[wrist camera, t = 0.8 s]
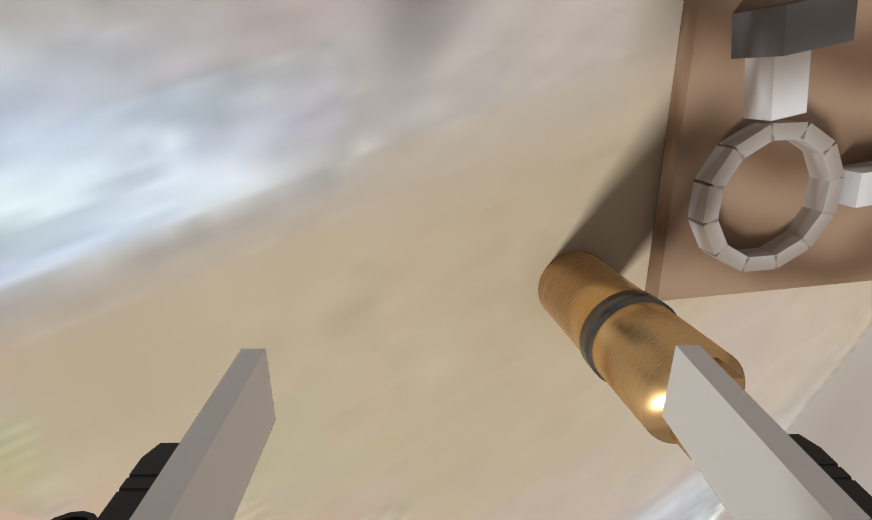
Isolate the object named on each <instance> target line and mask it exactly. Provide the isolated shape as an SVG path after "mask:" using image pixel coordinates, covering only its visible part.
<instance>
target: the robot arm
mask: <svg viewBox="0 0 872 520" xmlns="http://www.w3.org/2000/svg"><path fill="white" fill-rule="evenodd" d="M662 417H663V418H664V420H665V421H666V423H667V424H668V425H669V427H670V428H671V430H672V431H673V433H674V434H675V436H676V437H677V439H678V440H679V442H680V443H681V445H682V446H683V447H684V449H685V450H686V452H687V453H688V455H689V456H690V458H691V459H692V461H693V462H694V464H695V465H696V467H697V468H698V470H699V471H700V472H701V474H702V475H703V477H704V478H705V480H706V481H707V483H708V484H709V486H710V487H711V489H712V490H713V492H714V493H715V495H716V496H717V497H718V499H719V500H720V502H721V503H722V505H723V506H724V508H725V509H726V511H727V512H728V514H729V515H730V516H731V518H732V519H733V520H872V496H871V495H870V494H868V493H867V492H866V491H865V490H864V489H863V488H862V487H861V486H860V485H859V484H858V483H857V482H856V481H855V480H852V479H851V476H850V475H849V474H848V473H846V471H845V470H844V469H842V468H841V467H838V464H837V463H836V462H835V461H834V460H833V459H832V458H831V457H830V456H829V455H828V454H827V453H826V452H825V451H824V450H823V449H822V448H820V447H819V446H817V445H816V444H814V443H812V442H811V441H809V440H807V439H806V438H804V437H802V436H801V435H799V434H787V433H786V432H785V431H784V430H783V429H782V428H781V427H780V426H779V425H778V424H777V423H776V422H775V421H774V420H773V419H772V418H771V417H770V416H769V415H768V414H767V413H766V412H765V411H764V410H763V409H762V408H761V407H760V406H759V405H758V404H757V403H756V402H755V401H754V400H753V399H752V398H751V397H750V396H749V395H748V394H747V393H746V392H745V391H744V390H743V389H742V388H741V387H740V386H739V385H738V384H737V382H736V381H735V380H734V379H733V378H732V377H731V376H730V375H729V374H728V373H727V372H726V371H725V370H724V369H723V368H722V367H721V366H720V365H719V364H718V363H717V362H716V361H715V360H714V359H713V358H712V357H711V356H710V355H709V354H708V353H707V352H706V351H705V350H704V349H703V348H702V347H701V346H700V345H676V347H675V352H674V357H673V362H672V367H671V372H670V377H669V382H668V387H667V392H666V396H665V401H664V406H663V411H662ZM275 420H276V418H275V411H274V404H273V397H272V390H271V383H270V376H269V368H268V361H267V354H266V349H241V350H240V352H239V353H238V355H237V356H236V358H235V359H234V361H233V363H232V364H231V366H230V367H229V369H228V370H227V372H226V373H225V375H224V376H223V378H222V379H221V381H220V382H219V384H218V385H217V387H216V388H215V390H214V391H213V393H212V395H211V396H210V398H209V399H208V401H207V402H206V404H205V405H204V407H203V408H202V410H201V411H200V413H199V414H198V416H197V417H196V419H195V420H194V422H193V423H192V425H191V426H190V428H189V430H188V431H187V433H186V434H185V436H184V437H183V439H182V440H181V442H180V443H160V444H159V445H157V446H156V447H155V448H154V449H152V450H151V451H150V452H148V453H147V454H146V455H145V456H143V457H142V458H141V459H140V461H139V462H138V464H137V465H136V466H135V468H134V469H133V470H132V472H131V473H130V476H129V478H127V479H126V480H125V481H124V483H123V484H122V485H121V487H120V488H119V492H116V494H115V495H114V496H113V498H112V499H111V501H110V502H109V503H108V505H107V506H106V507H105V509H104V510H103V512H102V513H101V514H100V516H99V517H98V518H97V517H96V515H95V514H93V513H90V512H86V511H79V512H70V513H67V514H64V515H61V516H58V517H55V518H53V519H51V520H233V519H234V516H235V514H236V512H237V509H238V507H239V505H240V502H241V500H242V498H243V495H244V493H245V491H246V488H247V486H248V484H249V481H250V479H251V476H252V474H253V472H254V469H255V467H256V465H257V462H258V460H259V458H260V455H261V453H262V451H263V448H264V446H265V444H266V441H267V439H268V437H269V434H270V432H271V430H272V427H273V425H274V423H275Z"/></svg>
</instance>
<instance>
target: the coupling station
mask: <svg viewBox="0 0 872 520" xmlns="http://www.w3.org/2000/svg"><path fill="white" fill-rule="evenodd" d="M870 280H872V0H684V5H683V13H682V20H681V28H680V35H679V43H678V50H677V58H676V65H675V73H674V80H673V88H672V95H671V103H670V111H669V118H668V126H667V133H666V141H665V148H664V156H663V163H662V171H661V178H660V186H659V193H658V201H657V208H656V216H655V223H654V231H653V238H652V246H651V253H650V261H649V268H648V276H647V283H646V291H645V292H648V293H650V294H652V295H654V296H655V297H657V298H658V299H660V300H661V301H663V300H673V299H684V298H694V297H704V296H715V295H725V294H735V293H746V292H756V291H766V290H777V289H787V288H797V287H808V286H818V285H829V284H839V283H849V282H860V281H870Z"/></svg>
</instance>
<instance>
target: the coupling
mask: <svg viewBox="0 0 872 520" xmlns="http://www.w3.org/2000/svg"><path fill="white" fill-rule="evenodd" d="M538 294H539V299H540V302H541V304H542V306H543V307H544V309H545V310H546V311H547V312H548V313H549V314H550V316H551V317H552V318H553V319H554V320H555V322H556V323H557V324H558V325H559V326H560V327H561V329H562V330H563V331H564V332H565V333H566V335H567V336H568V337H569V338H570V339H571V340H572V342H573V343H574V344H575V345H576V346H577V348H578V349H579V350H580V351H581V354H582V356H583V358H584V359H585V361H586V362H587V364H588V365H589V366H590V367H591V368H592V370H593V371H594V372H595V373H596V374H597V375H598V376H599V377H600V378H601V379H602V380H604V381H605V382H607V383H608V384H609V385H610V387H611V388H612V389H613V390H614V391H615V393H616V394H617V395H618V396H619V397H620V398H621V400H622V401H623V402H624V403H625V404H626V406H627V407H628V408H629V409H630V410H631V411H632V413H633V414H634V415H635V416H636V417H637V419H638V420H639V421H640V422H641V423H642V424H643V426H644V427H645V428H646V429H647V430H648V432H649V433H650V434H651V435H652V436H654V437H655V438H656V439H658V440H660V441H663V442H666V443H671V444H678V445H679V446H680V447H681V448H682V450H683V451H684V452H685V453H686V454H687V455H688V453H687V452H686V450H685V449H684V447H683V446H682V445H681V443H680V442H679V440H678V439H677V437H676V436H675V434H674V433H673V431H672V430H671V428H670V427H669V425H668V424H667V423H666V421H665V420H664V418H663V417H662V411H663V406H664V401H665V396H666V392H667V387H668V382H669V377H670V372H671V367H672V362H673V357H674V352H675V347H676V345H700V346H701V347H702V348H703V349H704V350H705V351H706V352H707V353H708V354H709V355H710V356H711V357H712V358H713V359H714V360H715V361H716V362H717V363H718V364H719V365H720V366H721V367H722V368H723V369H724V370H725V371H726V372H727V373H728V374H729V375H730V376H731V377H732V378H733V379H734V380H735V381H736V382H737V384H738V385H739V386H740V387H741V388H742V389H743V390H744V389H745V375H744V371H743V369H742V367H741V365H740V363H739V362H738V361H737V359H735V358H734V357H733V356H732V355H731V354H729V353H728V352H726V351H725V350H724V349H722V348H721V347H720V346H718V345H717V344H715V343H714V342H713V341H711V340H710V339H709V338H707V337H706V336H704V335H703V334H702V333H700V332H699V331H697V330H696V329H695V328H693V327H692V326H691V325H689V324H688V323H686V322H685V321H684V320H682V319H681V318H680V317H678V316H677V315H676V313H675V312H674V311H673V309H671V308H670V307H669V306H668V305H667V304H665V303H664V302H662V301H661V300H660V299H658V298H657V297H655V296H654V295H652V294H650V293H648V292H645V291H642V290H641V289H640V288H638V287H637V286H635V285H634V284H633V283H631V282H630V281H629V280H627V279H626V278H624V277H623V276H622V275H620V274H619V273H618V272H616V271H615V270H613V269H612V268H611V267H609V266H608V265H606V264H605V263H604V262H602V261H601V260H600V259H598V258H597V257H595V256H594V255H592V254H589V253H586V252H570V253H567V254H564V255H562V256H560V257H558V258H557V259H555V260H554V261H553V262H552V263H550V264H549V266H548V267H547V268H546V269H545V271H544V272H543V274H542V276H541V279H540V282H539V287H538ZM688 456H689V455H688ZM689 457H690V456H689ZM690 459H691V458H690ZM691 460H692V459H691Z"/></svg>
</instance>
